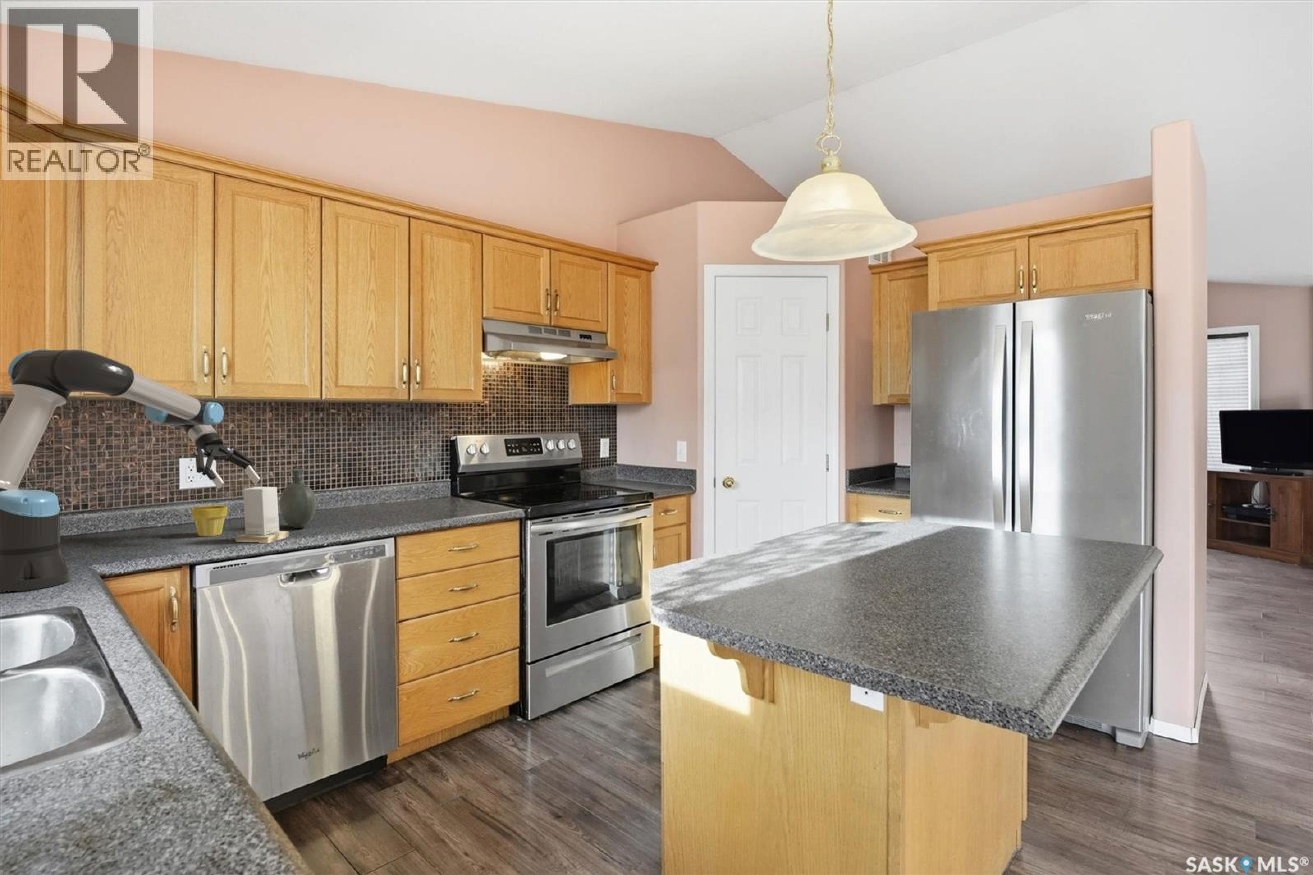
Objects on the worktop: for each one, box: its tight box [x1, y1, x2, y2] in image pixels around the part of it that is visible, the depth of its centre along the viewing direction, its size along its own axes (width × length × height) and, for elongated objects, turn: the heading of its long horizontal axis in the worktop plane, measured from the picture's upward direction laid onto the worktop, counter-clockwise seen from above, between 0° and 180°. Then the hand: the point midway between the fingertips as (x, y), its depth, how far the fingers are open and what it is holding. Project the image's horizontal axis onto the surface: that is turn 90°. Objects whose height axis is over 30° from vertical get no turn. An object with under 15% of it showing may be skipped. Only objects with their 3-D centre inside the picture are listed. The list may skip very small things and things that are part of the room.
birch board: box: [235, 530, 290, 544], centre depth 221 cm, size 11×11×2 cm
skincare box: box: [242, 486, 280, 535], centre depth 220 cm, size 8×7×16 cm
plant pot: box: [190, 504, 228, 537], centre depth 229 cm, size 10×10×10 cm
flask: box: [278, 468, 317, 529], centre depth 244 cm, size 12×17×22 cm
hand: (239, 483), depth 223 cm, fingers open, 13 cm apart
